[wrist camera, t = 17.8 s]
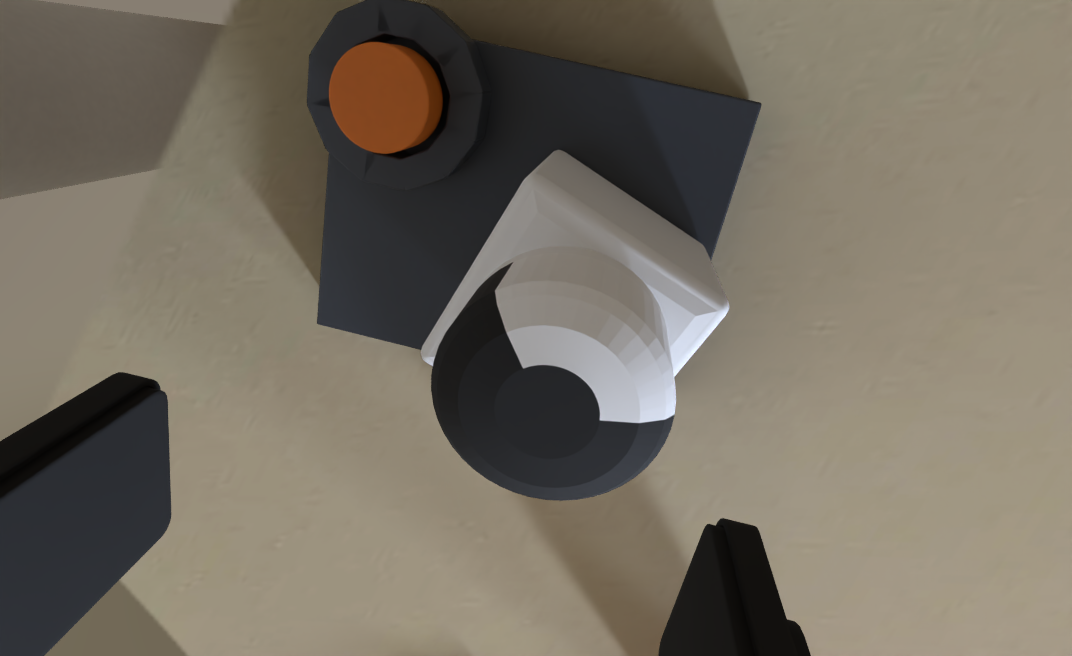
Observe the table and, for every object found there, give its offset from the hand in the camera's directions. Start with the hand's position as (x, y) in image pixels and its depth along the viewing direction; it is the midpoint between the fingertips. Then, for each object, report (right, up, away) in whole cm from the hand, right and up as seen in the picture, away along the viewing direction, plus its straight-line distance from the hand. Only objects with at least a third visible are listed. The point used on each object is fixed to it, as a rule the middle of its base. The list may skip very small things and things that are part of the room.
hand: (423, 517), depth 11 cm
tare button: (-3, +12, +12) cm, 17 cm away
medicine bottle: (+4, +6, +15) cm, 17 cm away
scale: (+1, +8, +17) cm, 18 cm away
